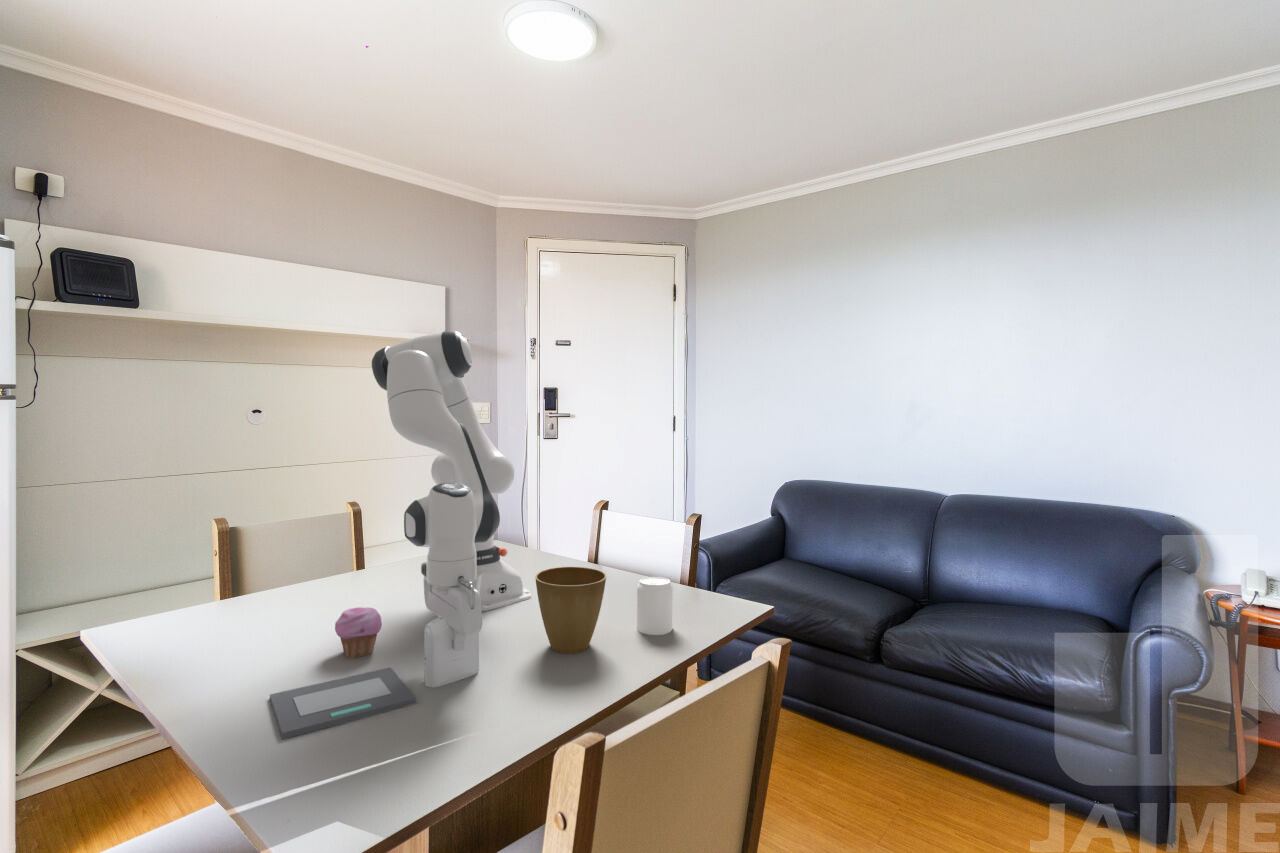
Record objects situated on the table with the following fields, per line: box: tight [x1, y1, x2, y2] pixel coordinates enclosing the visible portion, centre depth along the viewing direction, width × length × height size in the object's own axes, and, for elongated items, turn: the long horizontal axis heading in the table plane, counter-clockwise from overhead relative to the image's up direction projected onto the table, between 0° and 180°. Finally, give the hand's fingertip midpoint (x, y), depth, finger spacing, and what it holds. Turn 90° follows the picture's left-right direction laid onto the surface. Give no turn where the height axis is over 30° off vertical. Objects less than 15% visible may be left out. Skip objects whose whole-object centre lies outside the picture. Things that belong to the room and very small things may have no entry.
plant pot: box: [534, 566, 607, 655], centre depth 132 cm, size 15×15×16 cm
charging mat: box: [269, 667, 417, 740], centre depth 107 cm, size 20×16×1 cm
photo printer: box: [423, 616, 480, 689], centre depth 116 cm, size 10×4×12 cm, turn 133°
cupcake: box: [334, 606, 383, 660], centre depth 127 cm, size 9×9×10 cm
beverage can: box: [636, 576, 674, 636], centre depth 143 cm, size 8×8×12 cm
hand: (452, 644), depth 116 cm, fingers closed on photo printer, 4 cm apart
